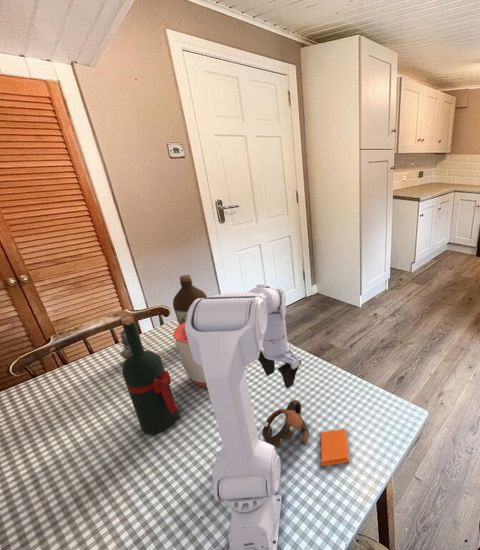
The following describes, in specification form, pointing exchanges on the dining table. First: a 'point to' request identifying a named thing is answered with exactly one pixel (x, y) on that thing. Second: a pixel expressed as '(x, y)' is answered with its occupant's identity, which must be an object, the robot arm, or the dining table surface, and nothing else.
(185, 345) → the citrus juicer
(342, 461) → the orange flat block
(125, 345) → the salt shaker
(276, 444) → the brown toy figure
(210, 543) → the dining table surface
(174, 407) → the wine bottle
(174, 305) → the olive oil
